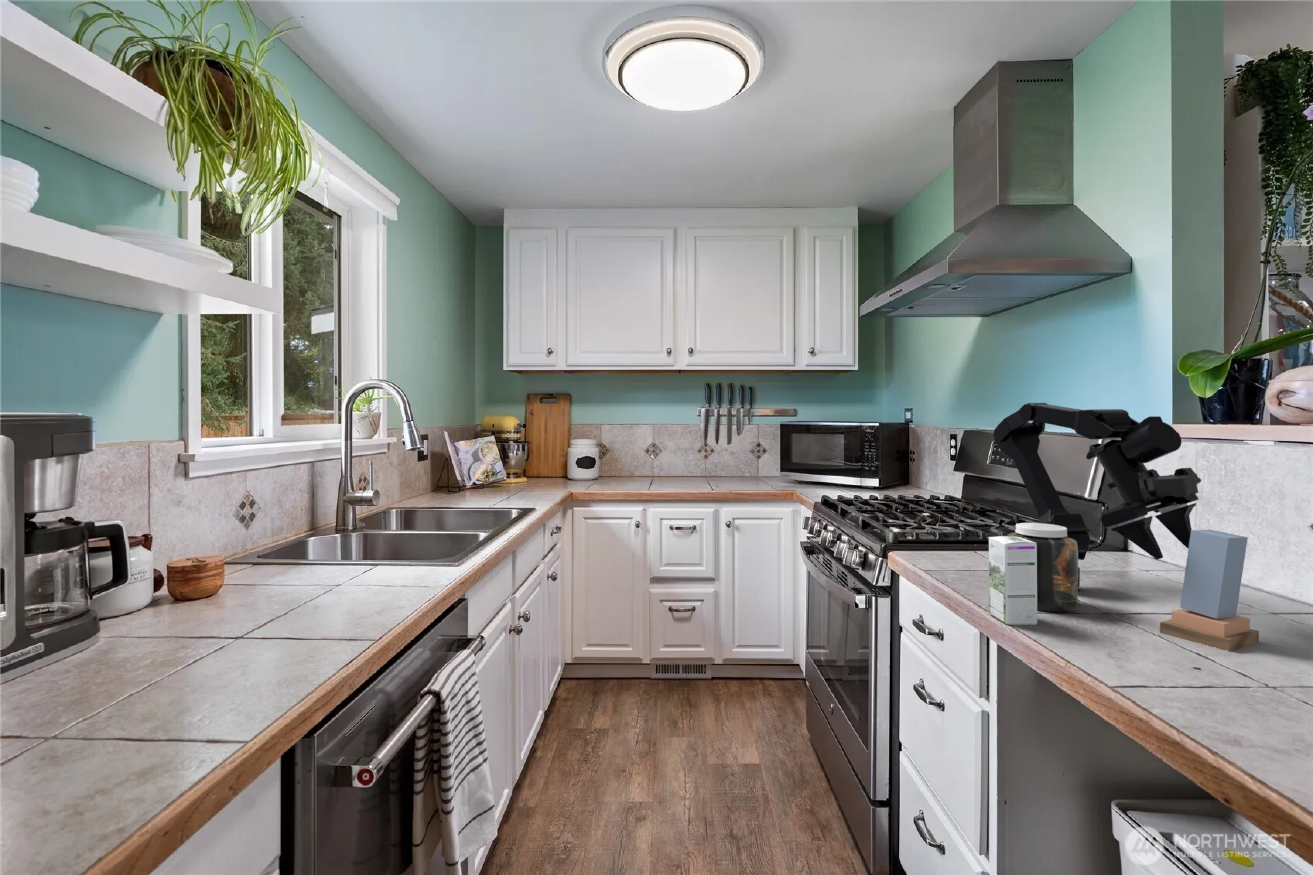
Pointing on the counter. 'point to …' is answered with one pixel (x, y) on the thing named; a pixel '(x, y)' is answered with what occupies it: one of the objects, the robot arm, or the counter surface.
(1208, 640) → the walnut block
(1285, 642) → the counter surface
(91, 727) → the counter surface
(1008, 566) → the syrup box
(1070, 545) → the jar
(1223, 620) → the terracotta block
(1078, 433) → the robot arm
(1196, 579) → the slate blue block
